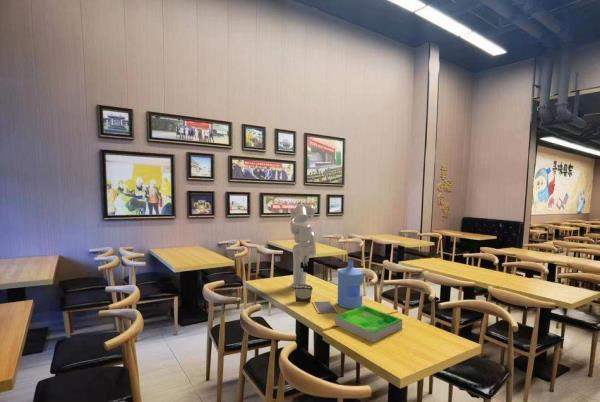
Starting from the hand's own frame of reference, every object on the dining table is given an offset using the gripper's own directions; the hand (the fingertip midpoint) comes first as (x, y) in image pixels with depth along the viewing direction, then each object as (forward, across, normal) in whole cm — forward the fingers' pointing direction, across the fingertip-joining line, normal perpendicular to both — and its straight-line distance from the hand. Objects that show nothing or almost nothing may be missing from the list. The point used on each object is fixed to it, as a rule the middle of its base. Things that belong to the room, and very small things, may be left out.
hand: (304, 270), depth 197 cm
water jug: (+20, +10, +28) cm, 36 cm away
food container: (+20, 0, 0) cm, 20 cm away
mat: (+20, +13, +11) cm, 26 cm away
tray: (+21, +41, +28) cm, 54 cm away
